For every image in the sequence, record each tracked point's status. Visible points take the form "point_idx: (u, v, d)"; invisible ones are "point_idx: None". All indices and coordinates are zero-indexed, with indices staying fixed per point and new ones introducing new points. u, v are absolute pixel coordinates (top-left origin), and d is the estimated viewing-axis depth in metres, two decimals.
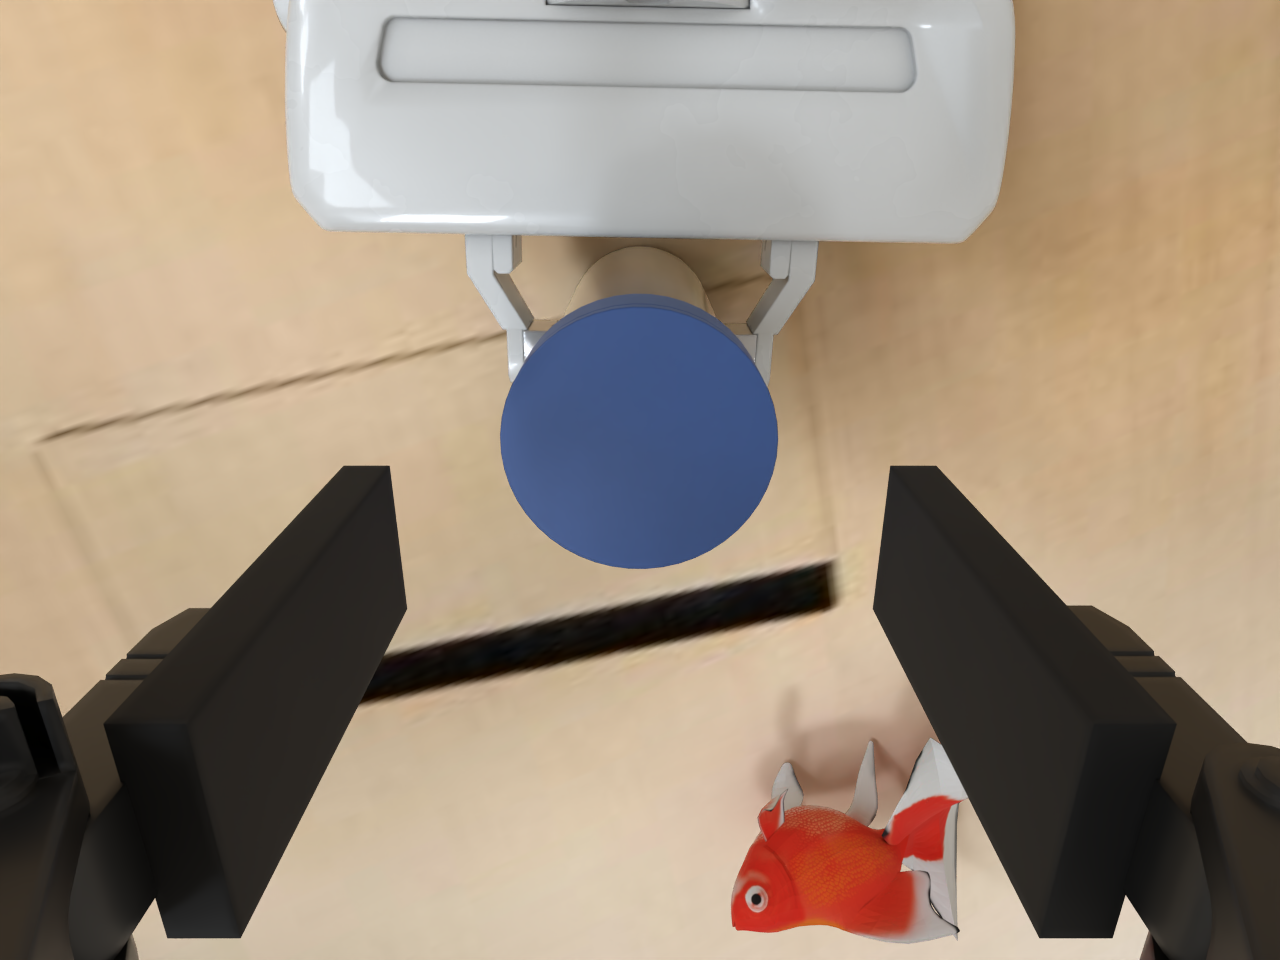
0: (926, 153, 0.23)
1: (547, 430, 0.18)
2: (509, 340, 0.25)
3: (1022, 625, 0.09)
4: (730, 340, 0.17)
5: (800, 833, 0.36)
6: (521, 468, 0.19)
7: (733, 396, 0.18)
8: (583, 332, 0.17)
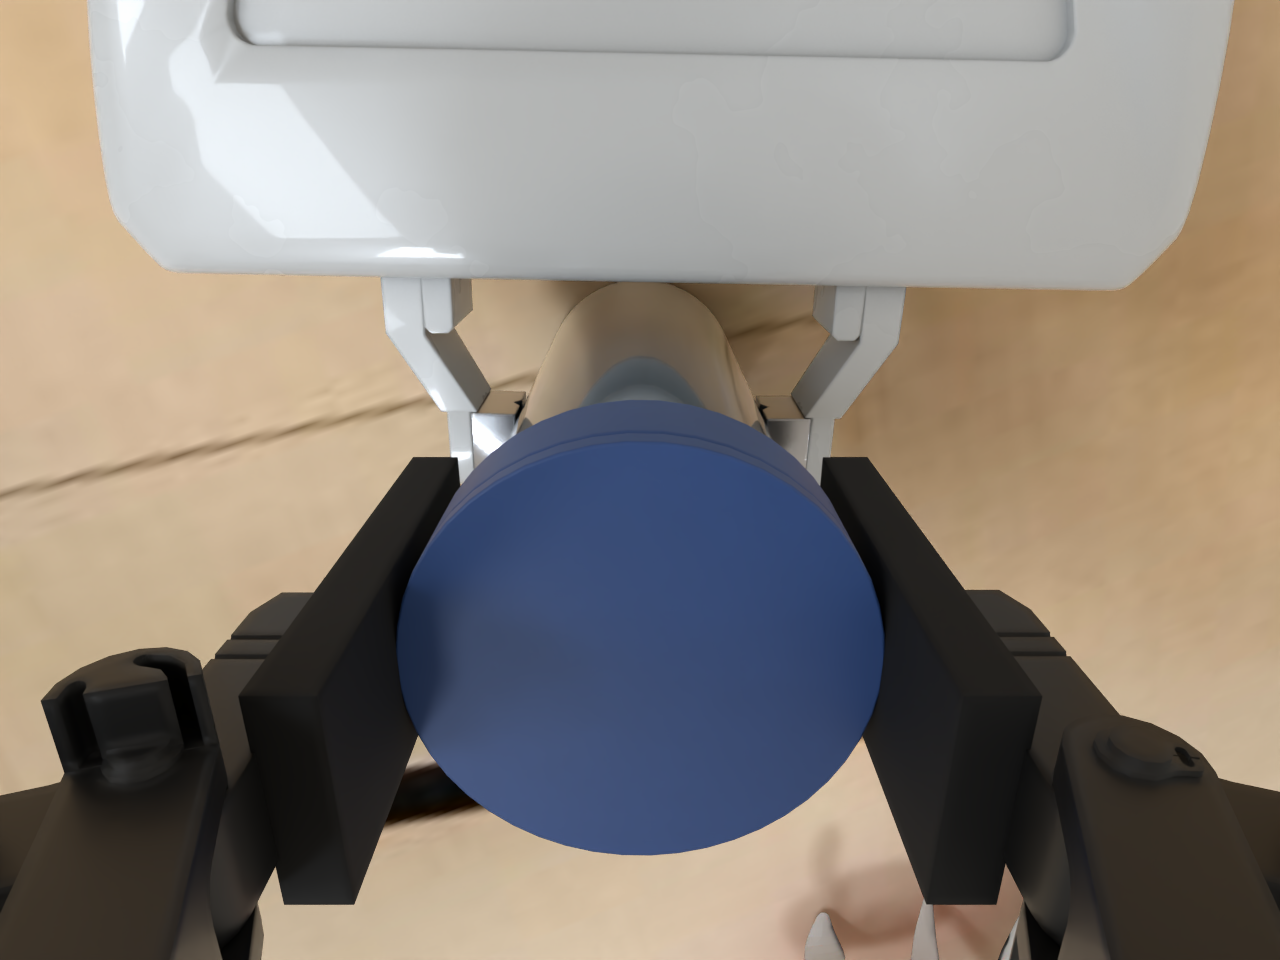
0: (1082, 156, 0.15)
1: (478, 646, 0.10)
2: (451, 427, 0.17)
3: (917, 606, 0.09)
4: (807, 499, 0.10)
5: None
6: (435, 706, 0.11)
7: (809, 591, 0.10)
8: (538, 486, 0.09)
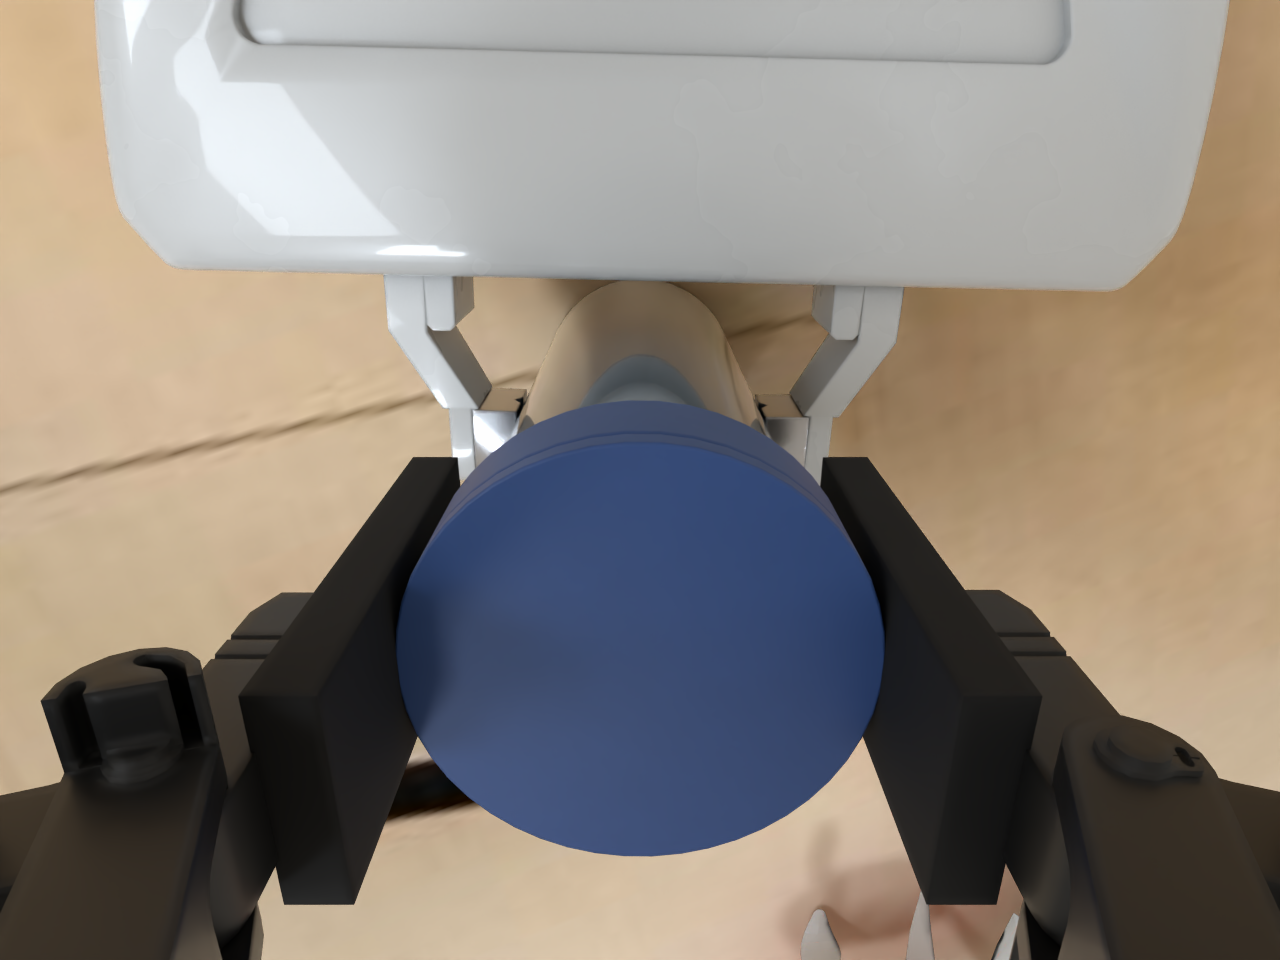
0: (1077, 158, 0.15)
1: (692, 792, 0.11)
2: (453, 424, 0.18)
3: (917, 606, 0.09)
4: (396, 642, 0.10)
5: None
6: (772, 797, 0.11)
7: (470, 591, 0.10)
8: (523, 814, 0.11)
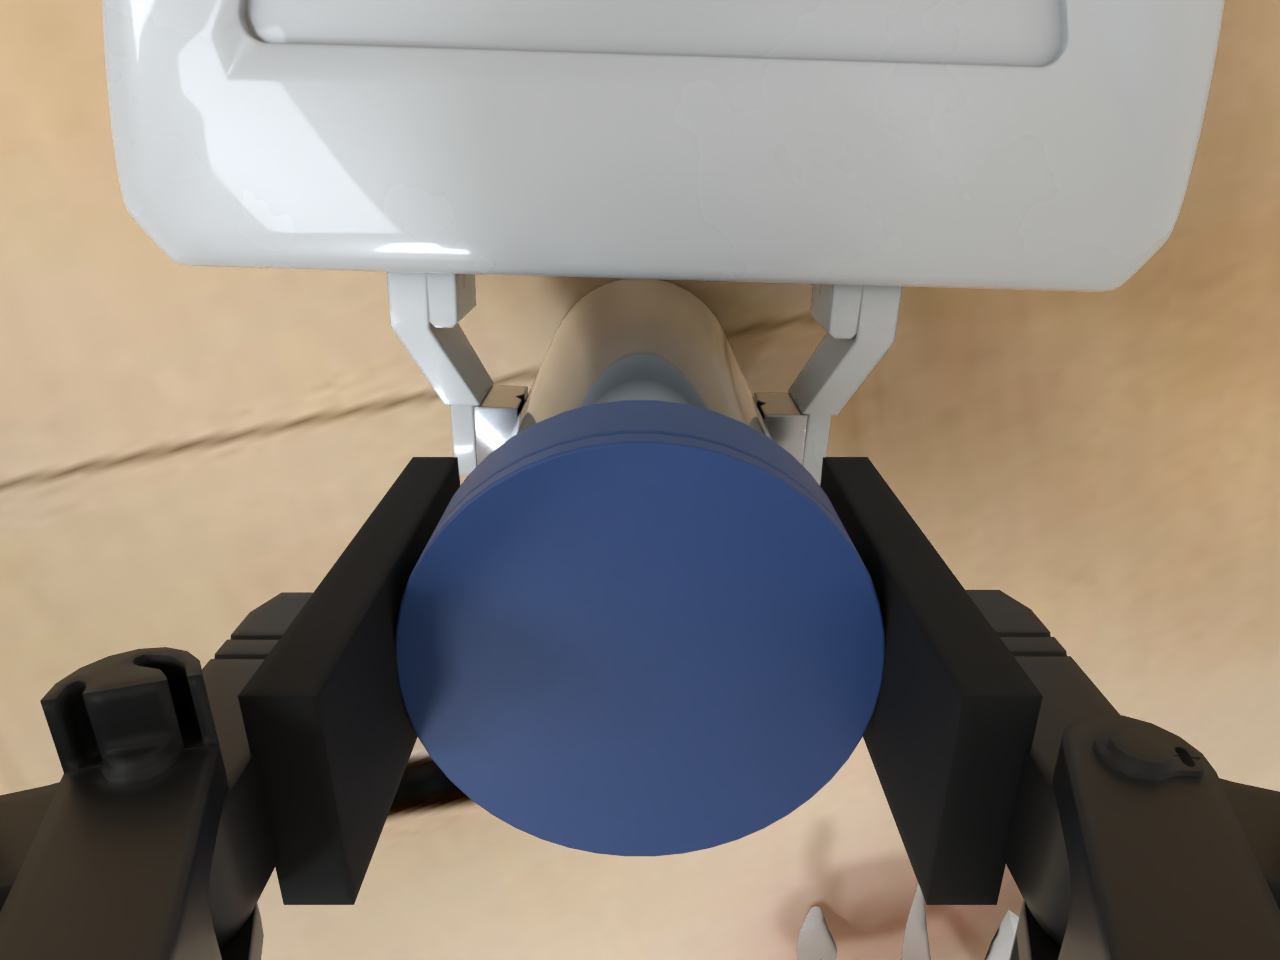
0: (1074, 159, 0.15)
1: (749, 560, 0.10)
2: (454, 420, 0.18)
3: (917, 606, 0.09)
4: None
5: None
6: (711, 484, 0.09)
7: (642, 817, 0.11)
8: (860, 687, 0.10)
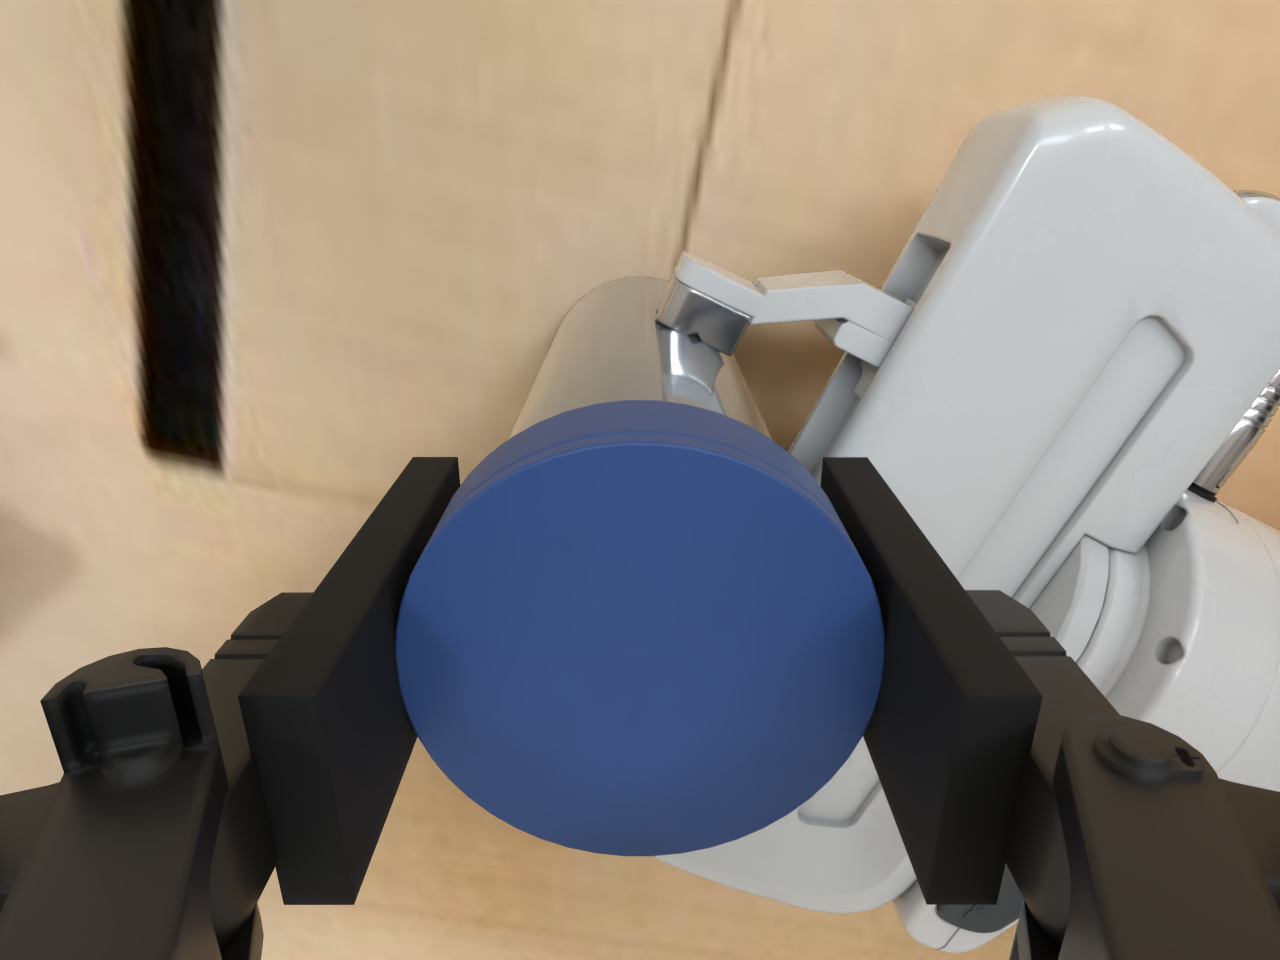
0: None
1: (750, 561, 0.10)
2: (748, 293, 0.17)
3: (917, 605, 0.09)
4: None
5: None
6: (713, 485, 0.09)
7: (641, 817, 0.11)
8: (860, 688, 0.10)
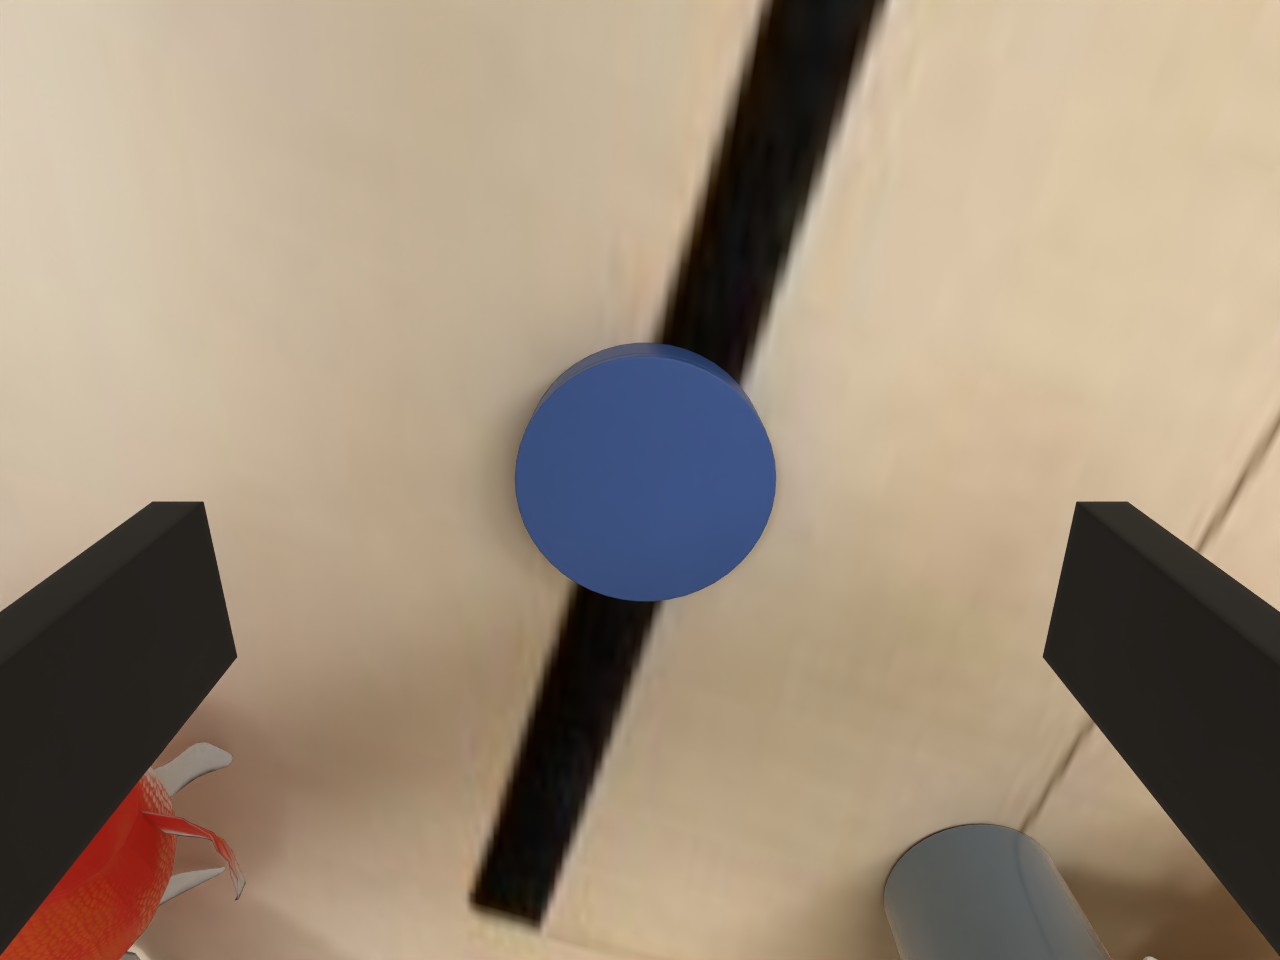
0: None
1: (702, 420, 0.19)
2: None
3: None
4: None
5: (148, 881, 0.20)
6: (681, 379, 0.19)
7: (646, 575, 0.20)
8: (763, 494, 0.20)
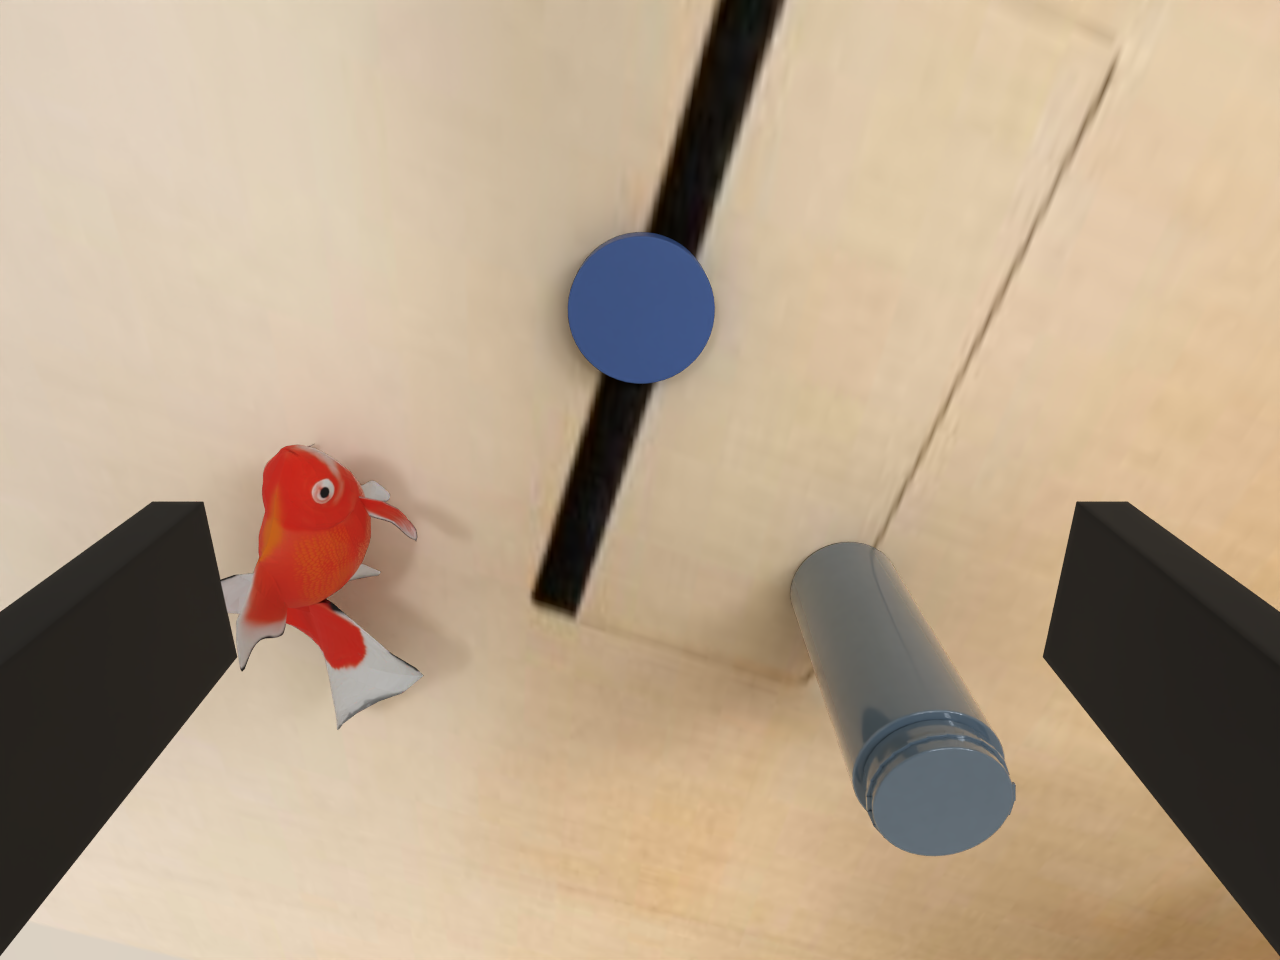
0: None
1: (672, 273, 0.34)
2: None
3: None
4: None
5: (362, 537, 0.35)
6: (661, 249, 0.34)
7: (642, 367, 0.36)
8: (707, 317, 0.35)
